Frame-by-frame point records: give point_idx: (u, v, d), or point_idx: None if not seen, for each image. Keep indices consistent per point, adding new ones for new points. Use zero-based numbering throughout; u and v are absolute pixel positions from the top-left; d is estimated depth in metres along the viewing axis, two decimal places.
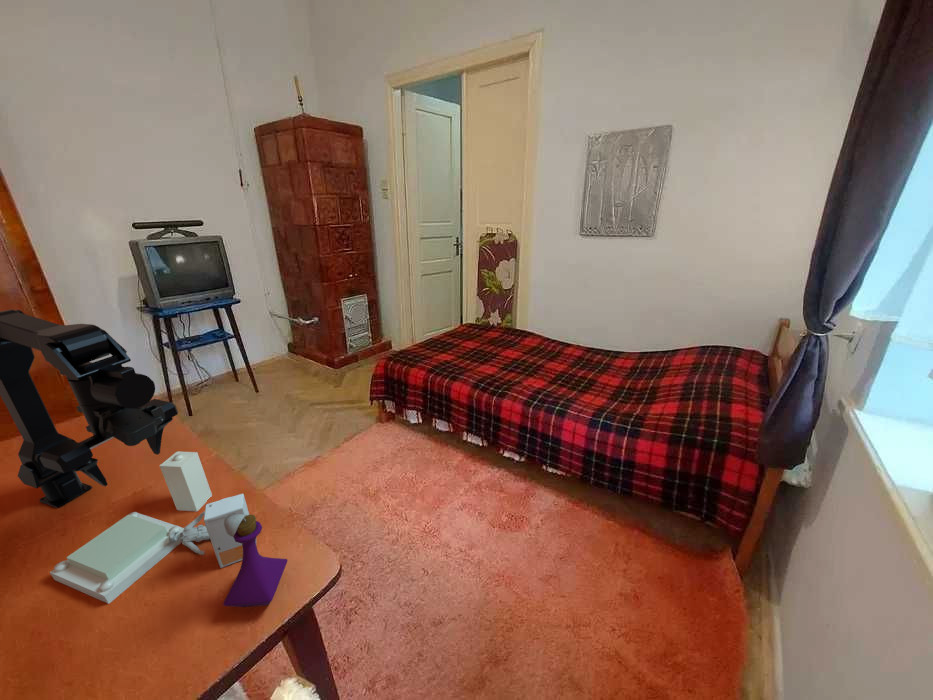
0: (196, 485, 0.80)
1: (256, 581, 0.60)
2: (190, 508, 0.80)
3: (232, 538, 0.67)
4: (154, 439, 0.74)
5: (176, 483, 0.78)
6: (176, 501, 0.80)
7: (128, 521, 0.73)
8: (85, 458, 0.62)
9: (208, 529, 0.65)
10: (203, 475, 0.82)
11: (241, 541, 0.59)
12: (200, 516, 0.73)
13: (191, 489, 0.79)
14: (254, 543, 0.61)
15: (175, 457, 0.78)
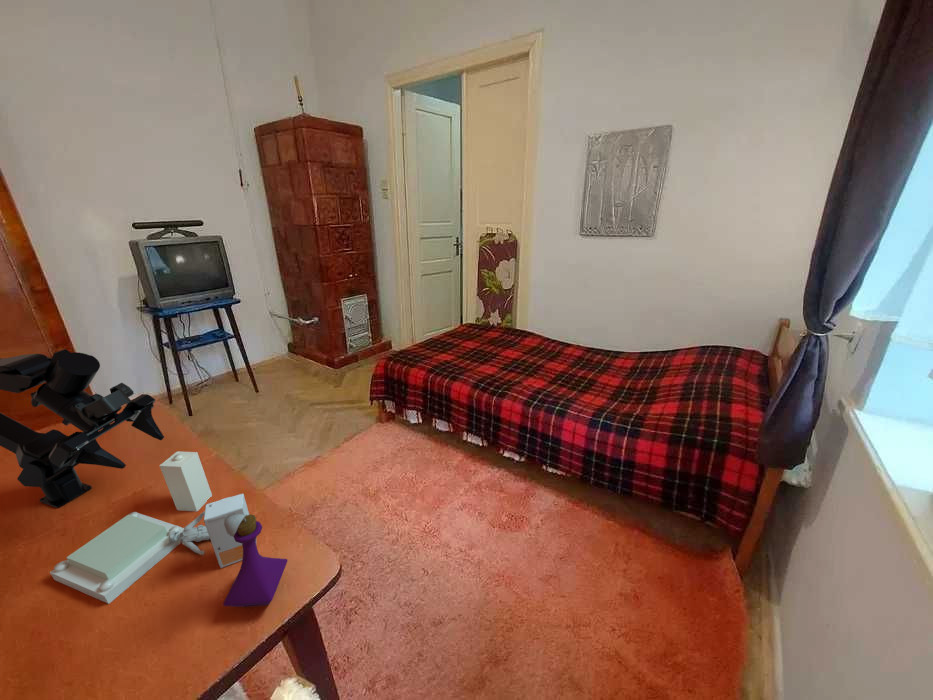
0: (196, 485, 0.80)
1: (256, 581, 0.60)
2: (190, 508, 0.80)
3: (232, 538, 0.67)
4: (150, 426, 0.82)
5: (176, 483, 0.78)
6: (176, 501, 0.80)
7: (128, 521, 0.73)
8: (81, 438, 0.70)
9: (208, 529, 0.65)
10: (203, 475, 0.82)
11: (241, 541, 0.59)
12: (200, 516, 0.73)
13: (191, 489, 0.79)
14: (254, 543, 0.61)
15: (175, 457, 0.78)
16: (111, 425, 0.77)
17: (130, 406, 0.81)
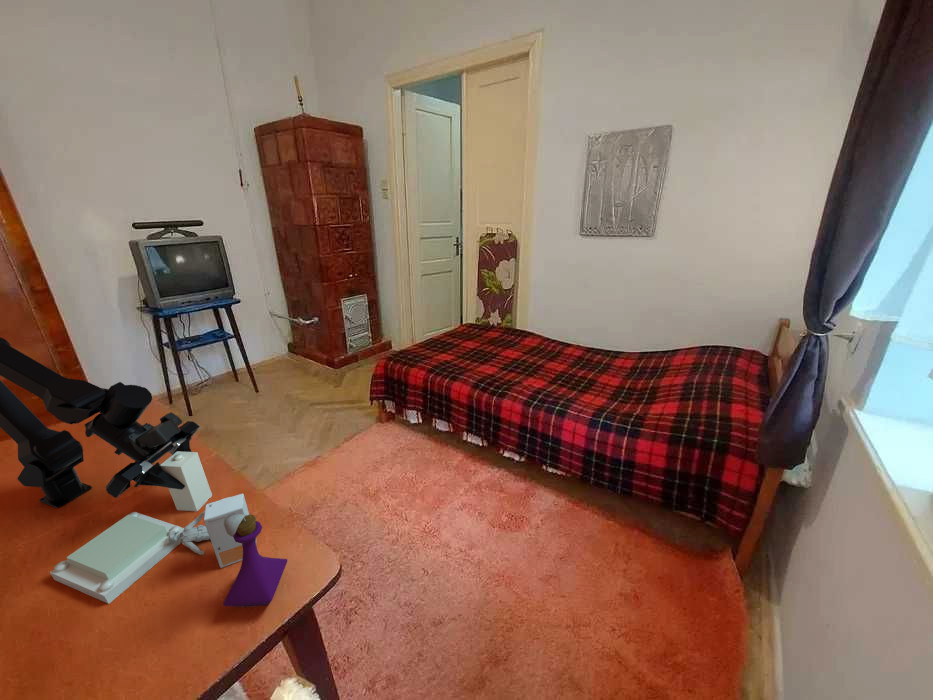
0: (196, 485, 0.80)
1: (256, 581, 0.60)
2: (190, 508, 0.80)
3: (232, 538, 0.67)
4: None
5: None
6: (176, 501, 0.80)
7: (128, 521, 0.73)
8: (137, 469, 0.71)
9: (208, 529, 0.65)
10: (203, 475, 0.82)
11: (241, 541, 0.59)
12: (200, 516, 0.73)
13: (191, 489, 0.79)
14: (254, 543, 0.61)
15: (175, 457, 0.78)
16: (152, 460, 0.77)
17: (177, 434, 0.83)
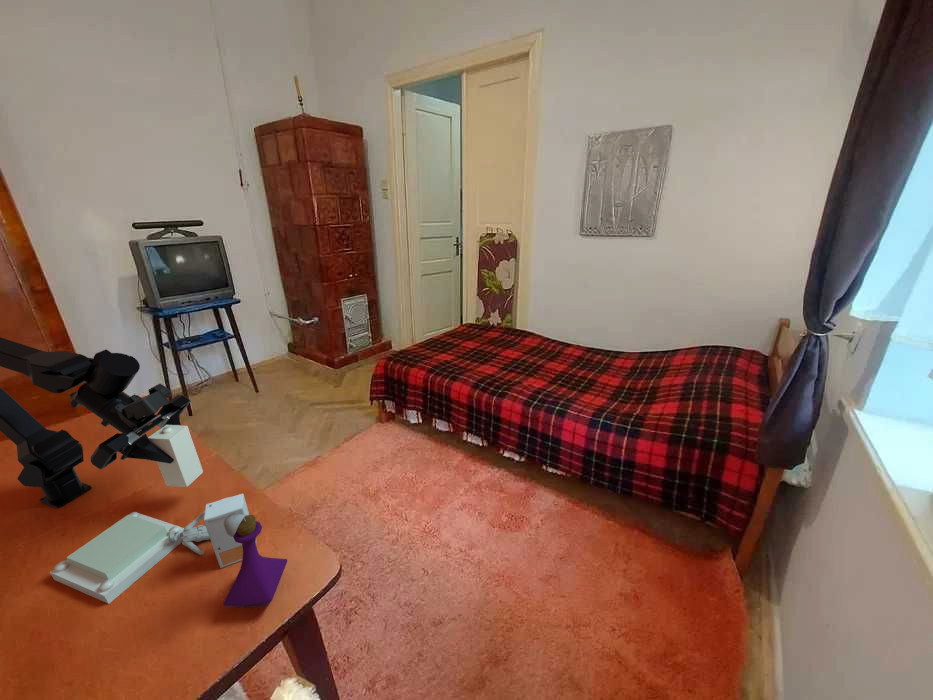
0: (186, 460, 0.77)
1: (256, 581, 0.60)
2: (180, 483, 0.78)
3: (232, 538, 0.67)
4: None
5: None
6: (165, 476, 0.77)
7: (128, 521, 0.73)
8: (123, 440, 0.69)
9: (208, 529, 0.65)
10: (193, 450, 0.79)
11: (241, 541, 0.59)
12: (200, 516, 0.73)
13: (181, 464, 0.76)
14: (254, 543, 0.61)
15: (164, 430, 0.75)
16: (140, 433, 0.74)
17: (166, 407, 0.80)
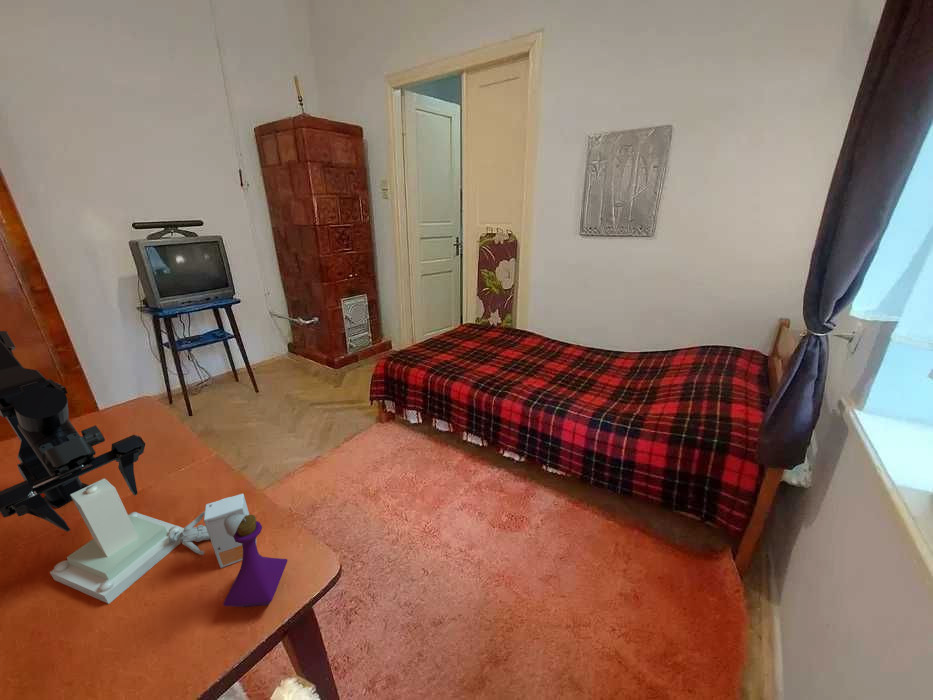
0: (108, 527, 0.65)
1: (256, 581, 0.60)
2: (102, 550, 0.67)
3: (232, 538, 0.67)
4: (126, 477, 0.69)
5: (85, 519, 0.64)
6: (93, 536, 0.67)
7: None
8: (22, 492, 0.59)
9: (208, 529, 0.65)
10: (124, 514, 0.67)
11: (241, 541, 0.59)
12: (200, 516, 0.73)
13: (99, 531, 0.64)
14: (254, 543, 0.61)
15: (87, 489, 0.64)
16: (81, 471, 0.66)
17: (114, 448, 0.69)
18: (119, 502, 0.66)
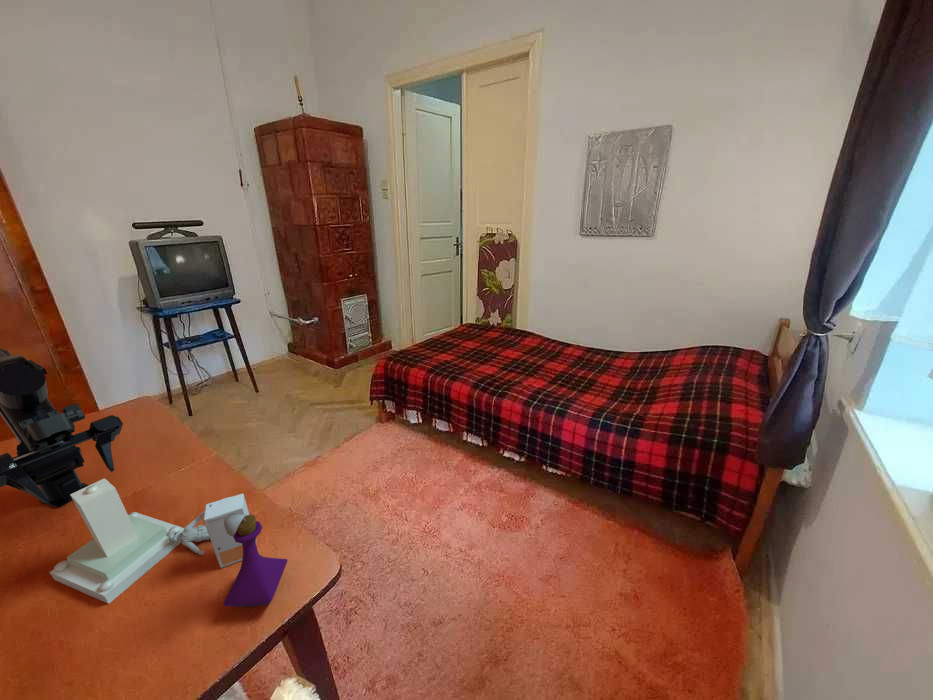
0: (108, 527, 0.65)
1: (256, 581, 0.60)
2: (102, 550, 0.67)
3: (232, 538, 0.67)
4: (103, 454, 0.73)
5: (85, 519, 0.64)
6: (93, 536, 0.67)
7: None
8: (4, 463, 0.62)
9: (208, 529, 0.65)
10: (124, 514, 0.67)
11: (241, 541, 0.59)
12: (200, 516, 0.73)
13: (99, 531, 0.64)
14: (254, 543, 0.61)
15: (87, 489, 0.64)
16: (60, 447, 0.70)
17: (92, 427, 0.73)
18: (119, 502, 0.66)
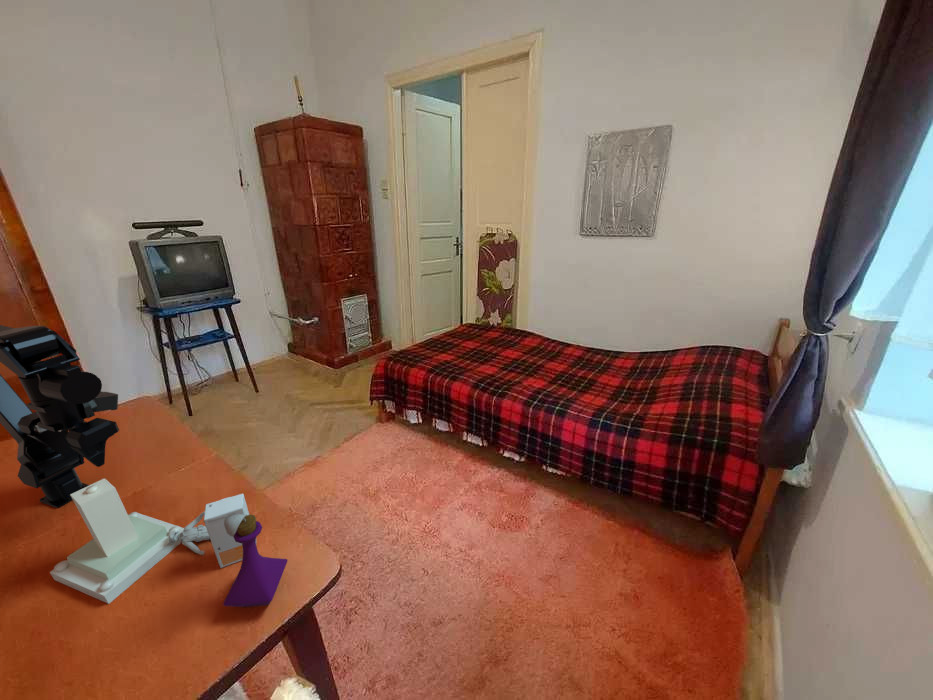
0: (108, 527, 0.65)
1: (256, 581, 0.60)
2: (102, 550, 0.67)
3: (232, 538, 0.67)
4: None
5: (85, 519, 0.64)
6: (93, 536, 0.67)
7: None
8: None
9: (208, 529, 0.65)
10: (124, 514, 0.67)
11: (241, 541, 0.59)
12: (200, 516, 0.73)
13: (99, 531, 0.64)
14: (254, 543, 0.61)
15: (87, 489, 0.64)
16: None
17: None
18: (119, 502, 0.66)
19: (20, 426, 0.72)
